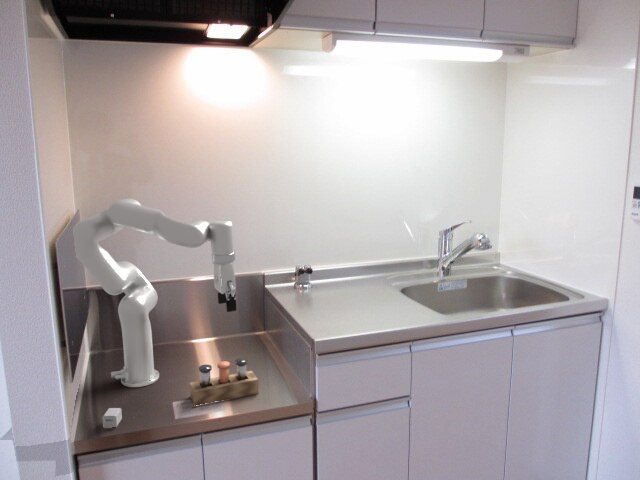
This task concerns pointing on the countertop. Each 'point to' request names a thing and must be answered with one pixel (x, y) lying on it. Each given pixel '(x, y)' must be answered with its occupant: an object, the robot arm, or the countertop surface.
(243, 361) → the grey plug far
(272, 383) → the countertop surface
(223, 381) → the rust plug
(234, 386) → the socket strip
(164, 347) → the countertop surface
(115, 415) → the usb wall charger
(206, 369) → the grey plug near
